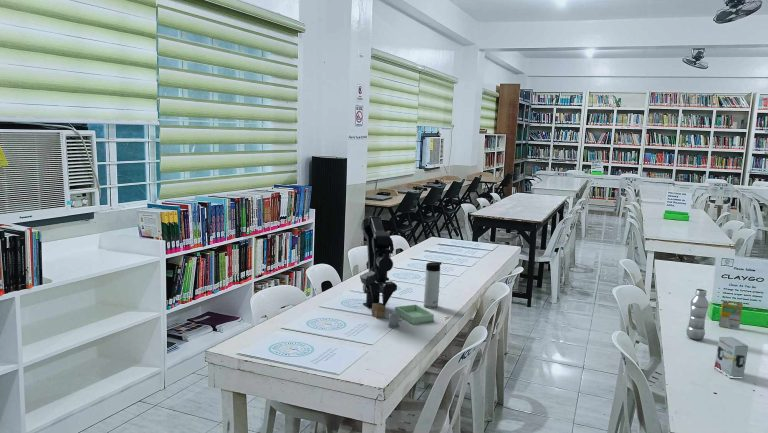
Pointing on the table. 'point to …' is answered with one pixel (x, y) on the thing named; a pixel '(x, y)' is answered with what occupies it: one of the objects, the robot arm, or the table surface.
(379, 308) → the walnut block
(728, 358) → the ink box
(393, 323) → the grey domed knob
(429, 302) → the travel mug
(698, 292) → the plastic bottle
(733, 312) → the crayon box
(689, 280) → the table surface
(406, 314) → the parts tray
